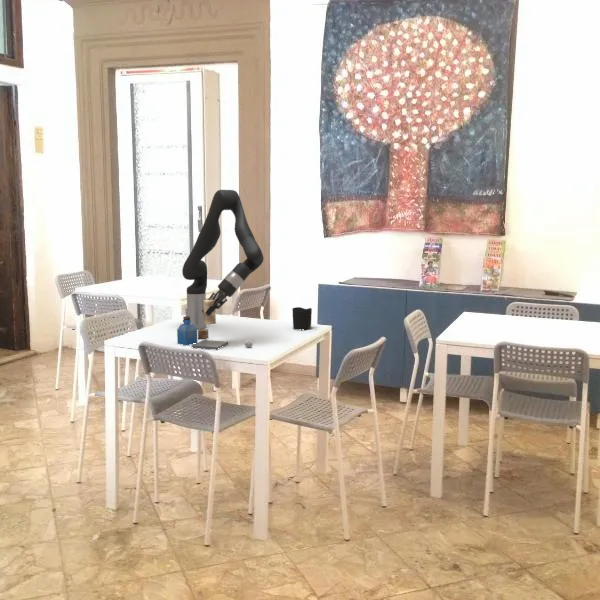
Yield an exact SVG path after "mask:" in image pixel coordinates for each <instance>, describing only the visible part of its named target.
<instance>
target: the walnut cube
mask: <svg viewBox="0 0 600 600" xmlns="http://www.w3.org/2000/svg"><path fill="white" fill-rule="evenodd" d="M207 338H208V339H209V329H206V328H203V329H197V340H208V339H207Z"/></svg>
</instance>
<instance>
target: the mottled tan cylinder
mask: <svg viewBox="0 0 600 600" xmlns="http://www.w3.org/2000/svg"><path fill="white" fill-rule="evenodd" d="M213 302H214V301H213V300H208V299H206V300H203V305H204V323H205V324H206V325H215V324H217V319H216V318H217V317H216V316H217V315H216V314H217V313H216V310H215V309H214V311H213V312H212V313H211V314H210V315H209V316H208V315H207V314H206V313H205V312H206V311H207V310H208V309H209V307H210V306H211V305H212V304H213ZM211 307H212V306H211Z"/></svg>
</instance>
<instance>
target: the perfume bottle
mask: <svg viewBox="0 0 600 600" xmlns="http://www.w3.org/2000/svg"><path fill="white" fill-rule="evenodd" d="M190 322H191V319H190V317H189V316H186V315H185V316H183V319H182V323H181V324H180V325H179V326H178V328H177V331H176V336H177V338H176V339H177V344H178V345H181V344H183V345H182V346H186V345H187V346H190V345H189V344H192V345H193V343H198V329H196V327H195V326H194V324H190Z"/></svg>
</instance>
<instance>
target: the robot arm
mask: <svg viewBox="0 0 600 600" xmlns="http://www.w3.org/2000/svg"><path fill="white" fill-rule="evenodd" d="M210 203H211V204H210V206H209V209H208V212H207V215H206V218H205V221H204V223H203V225H202V227H201V228H200V231H199V234H198V235H197V239H196V241H195V243H194V245H193V248H192V249H191V251H190V253H189V254H188V256H187V257H186V260H185V261H184V263H183V265H182V272H181V273H182V277H183V278H184V279H185V280H187V281H193V282H192V283H191V285H189V286H187V287H186V308H185V316H189V317H190V319H191V322H190V324H194V326H195V327H196V329H197V330H199V329H206V328H207V324H205V323H204V305H203V300H213V301H214V302H213V304H212V305H211V306H212V307H211V306H210V307H209V309H208V310H207V311H206V312H205V313H206V314H207V315H208V316H209V315H210V314H211V313H212V312H213V311H214V309H215V311H216V310H219V309H220V308H221V307H222V306H223V305H224V304H226V302H228V299H227V297H229V298H232V296H233V295H234V294H235V293H236V292H237V291H238V290H239V288H240V287H241V286H242V284H243V282H245V281H246V280H247V278H248V277H249V276H250V274H252V273H253V272H255V271H256V270H257V269H258V268H259V267H261V265H262V264H263V262H264V258H265V257H264V254H263V251H262V249H261V247H260V246H259V244H258V242H257V240H256V237H255V236H254V234H253V232H252V229H251V228H250V225H249V223H248V221H247V217H246V215H245V214H246V213H245V211H244V207H243V204H242V201H241V197H240V195H239V194H238V192H237V191H236V190H234V189H218V190H217V191H215V193H214V195H213V197H212V199H211V202H210ZM223 211H231V212H232V213H233V216H234V219H235V220H234V222H235V223H234V234H235V235H236V238H237V240H238V241H237V242H239V244H240V246H241V247H242V249H243V251H244V252H243V253H244V255H245V256H246V259H244V260H243V262H239V263H237V264H236V266H234V267H233V269H232V270H231V271H229V273H227V275H226V276H225V277H224V278H223V279H222V280H221V282H220V283H219V284H218V285H217V288H218V289H219V290H217V291H216V292H212V294H210V296H209V298H208V299H207V293H206V292H207V288H208V287H207V286H208V267H207V264H206V262H205V261H203V259H204V257H205V256H207V255H208V254H209V253H210V252H211V251H212V250H213V249H214V248H215V247H216V245H217V243H218V241H219V239H220V237H221V226H220V222H219V221H220V217H221V215H222V212H223Z"/></svg>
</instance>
